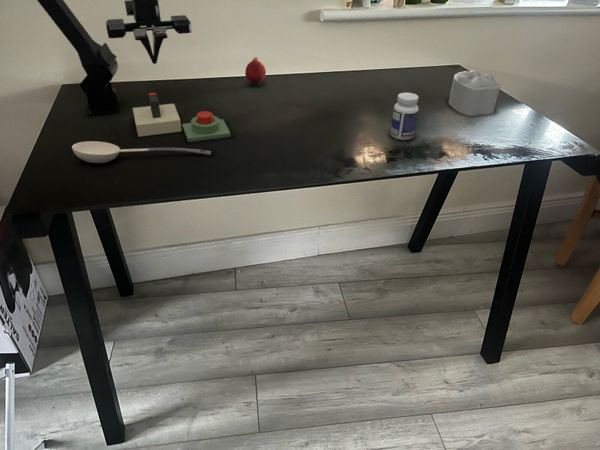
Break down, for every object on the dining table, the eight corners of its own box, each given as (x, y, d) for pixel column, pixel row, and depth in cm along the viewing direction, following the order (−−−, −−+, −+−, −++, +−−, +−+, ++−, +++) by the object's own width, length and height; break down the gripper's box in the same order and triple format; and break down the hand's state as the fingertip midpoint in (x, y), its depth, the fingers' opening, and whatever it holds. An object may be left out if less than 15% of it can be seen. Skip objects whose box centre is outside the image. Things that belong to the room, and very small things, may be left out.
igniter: (188, 142, 112) (186, 130, 110) (182, 127, 118) (181, 116, 116) (230, 136, 115) (230, 125, 113) (223, 122, 121) (222, 111, 119)
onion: (265, 89, 139) (264, 61, 135) (244, 88, 139) (243, 60, 135) (266, 81, 144) (266, 54, 139) (246, 81, 144) (245, 53, 139)
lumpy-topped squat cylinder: (463, 116, 128) (471, 84, 123) (440, 97, 138) (446, 67, 133) (498, 113, 130) (507, 81, 125) (473, 95, 140) (480, 65, 135)
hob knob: (161, 117, 115) (158, 100, 113) (153, 118, 115) (150, 101, 112) (158, 109, 119) (155, 92, 117) (150, 109, 119) (148, 93, 116)
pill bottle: (415, 132, 120) (422, 93, 114) (411, 142, 115) (419, 102, 109) (392, 128, 121) (398, 89, 115) (387, 138, 117) (393, 98, 111)
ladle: (75, 153, 105) (74, 132, 103) (208, 164, 112) (210, 145, 110) (70, 166, 100) (68, 145, 98) (209, 177, 108) (211, 157, 105)
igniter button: (199, 126, 113) (198, 118, 112) (196, 119, 116) (195, 112, 115) (214, 124, 114) (213, 116, 113) (211, 118, 117) (210, 110, 116)
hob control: (138, 136, 114) (135, 124, 112) (134, 119, 121) (132, 107, 119) (181, 131, 117) (180, 119, 115) (175, 114, 124) (174, 102, 122)
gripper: (180, -16, 118) (187, 50, 128) (99, -12, 113) (112, 56, 122) (188, -6, 110) (195, 64, 119) (100, -2, 105) (115, 71, 114)
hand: (154, 63), depth 119 cm, fingers closed
